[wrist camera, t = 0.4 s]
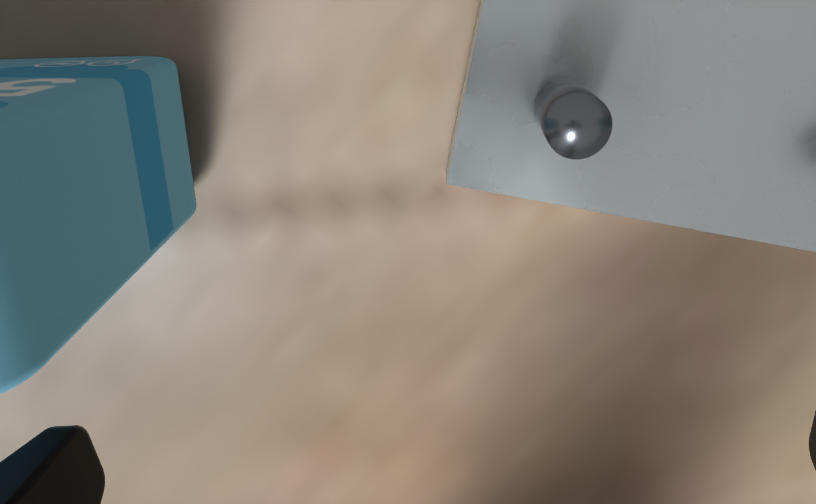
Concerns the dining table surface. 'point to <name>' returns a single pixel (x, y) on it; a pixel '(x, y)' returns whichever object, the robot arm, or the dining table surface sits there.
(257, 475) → the dining table surface
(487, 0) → the plate
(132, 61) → the blue printed box
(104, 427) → the dining table surface
